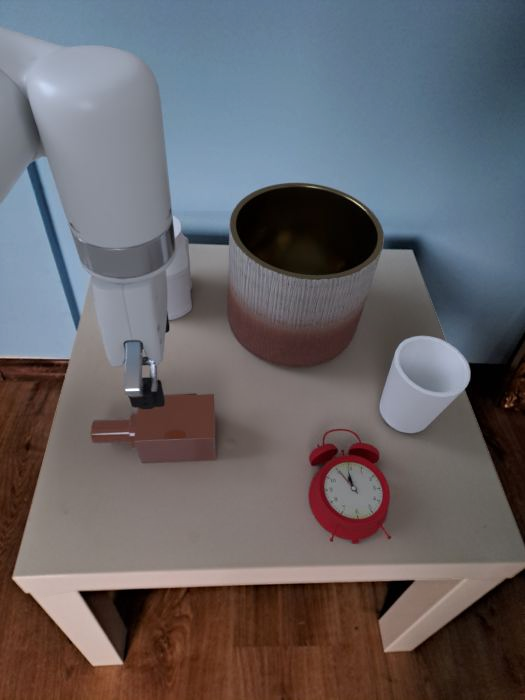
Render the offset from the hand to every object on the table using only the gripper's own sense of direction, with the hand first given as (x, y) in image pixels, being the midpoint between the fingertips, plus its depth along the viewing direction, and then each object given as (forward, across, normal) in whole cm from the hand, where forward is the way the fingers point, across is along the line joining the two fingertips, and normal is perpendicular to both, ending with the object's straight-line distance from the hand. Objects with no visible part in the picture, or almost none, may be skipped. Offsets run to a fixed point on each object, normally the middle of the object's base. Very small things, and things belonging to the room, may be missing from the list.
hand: (152, 365), depth 49 cm
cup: (+19, -4, +35) cm, 40 cm away
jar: (+19, -29, -2) cm, 35 cm away
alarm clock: (+19, +7, +24) cm, 31 cm away
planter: (+19, -23, +20) cm, 36 cm away
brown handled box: (+16, -2, +6) cm, 17 cm away
